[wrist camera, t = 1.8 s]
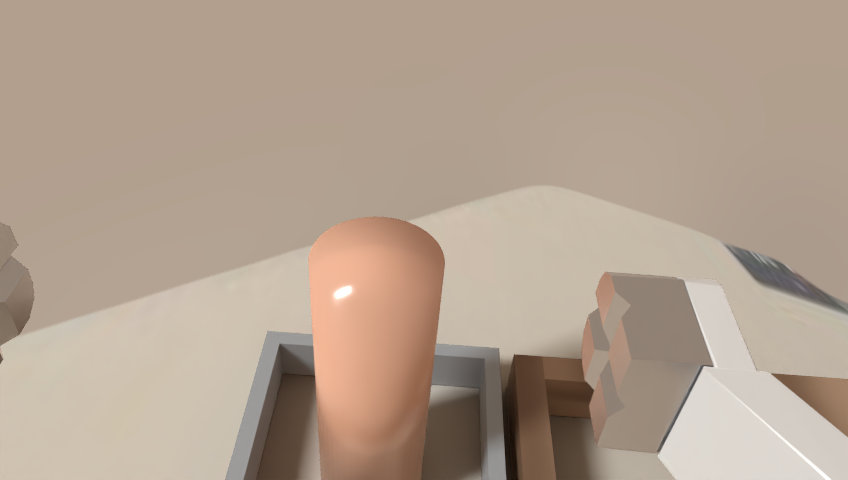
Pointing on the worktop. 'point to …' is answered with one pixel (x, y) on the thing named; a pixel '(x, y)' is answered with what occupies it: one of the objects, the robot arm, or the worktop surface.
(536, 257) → the worktop surface
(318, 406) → the peach cylinder
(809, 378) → the partly covered box
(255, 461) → the grey square frame
